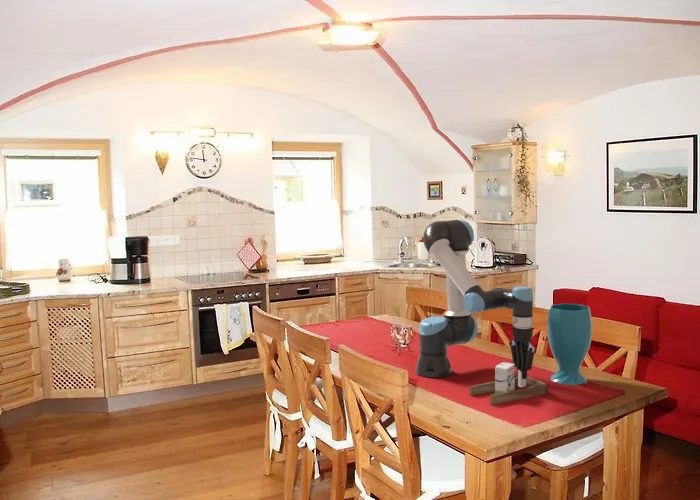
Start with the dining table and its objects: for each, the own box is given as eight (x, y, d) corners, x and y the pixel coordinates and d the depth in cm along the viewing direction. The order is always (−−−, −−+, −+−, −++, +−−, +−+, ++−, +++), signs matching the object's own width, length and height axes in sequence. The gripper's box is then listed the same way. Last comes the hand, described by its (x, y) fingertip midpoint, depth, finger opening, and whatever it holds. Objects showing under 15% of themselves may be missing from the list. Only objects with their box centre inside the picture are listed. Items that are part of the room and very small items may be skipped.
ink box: (506, 399, 249) (506, 368, 247) (494, 397, 252) (494, 366, 250) (515, 393, 256) (515, 363, 254) (502, 390, 259) (503, 361, 257)
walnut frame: (469, 395, 254) (469, 386, 254) (524, 383, 267) (524, 375, 266) (491, 405, 242) (491, 396, 242) (548, 393, 255) (548, 384, 254)
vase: (567, 388, 260) (568, 313, 256) (537, 376, 275) (538, 305, 272) (600, 382, 267) (602, 308, 263) (570, 371, 282) (571, 301, 279)
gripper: (503, 324, 259) (503, 383, 261) (526, 331, 247) (526, 392, 250) (518, 322, 262) (518, 380, 265) (541, 328, 250) (541, 389, 253)
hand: (522, 386), depth 257 cm, fingers closed
